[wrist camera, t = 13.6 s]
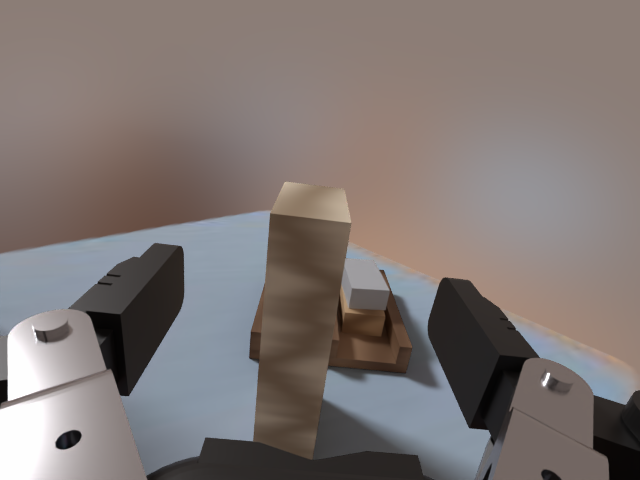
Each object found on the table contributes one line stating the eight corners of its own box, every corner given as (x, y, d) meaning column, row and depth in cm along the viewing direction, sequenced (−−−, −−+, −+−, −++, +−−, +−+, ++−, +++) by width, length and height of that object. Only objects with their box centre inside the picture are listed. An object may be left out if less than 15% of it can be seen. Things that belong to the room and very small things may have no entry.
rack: (249, 357, 34) (250, 331, 33) (270, 277, 49) (272, 257, 48) (405, 373, 35) (412, 347, 33) (379, 289, 49) (383, 270, 48)
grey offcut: (348, 308, 38) (352, 288, 37) (338, 275, 44) (341, 257, 43) (385, 310, 38) (389, 290, 37) (370, 277, 45) (374, 260, 44)
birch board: (251, 466, 24) (270, 213, 18) (267, 388, 31) (285, 181, 24) (310, 472, 24) (351, 222, 18) (313, 393, 31) (344, 189, 24)
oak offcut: (341, 332, 38) (344, 312, 37) (337, 293, 45) (340, 275, 44) (381, 336, 38) (385, 316, 37) (370, 297, 45) (374, 279, 44)
